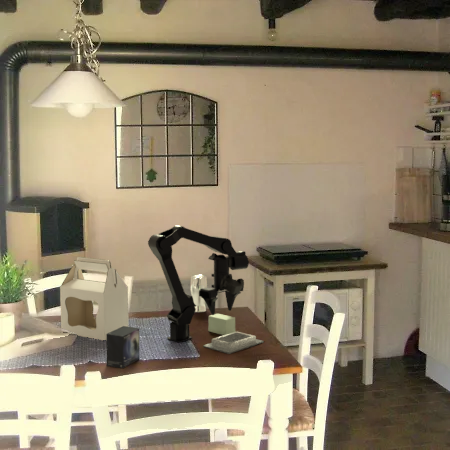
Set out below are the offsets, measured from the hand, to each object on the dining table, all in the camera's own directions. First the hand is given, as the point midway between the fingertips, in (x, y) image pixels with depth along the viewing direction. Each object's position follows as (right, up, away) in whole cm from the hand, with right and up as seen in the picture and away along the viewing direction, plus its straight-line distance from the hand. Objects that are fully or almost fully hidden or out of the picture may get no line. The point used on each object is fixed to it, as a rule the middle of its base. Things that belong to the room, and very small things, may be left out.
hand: (221, 312), depth 232 cm
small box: (-31, -11, -34) cm, 48 cm away
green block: (0, -8, +1) cm, 8 cm away
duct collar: (+4, -9, -15) cm, 18 cm away
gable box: (-47, -8, +1) cm, 48 cm away
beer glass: (-10, -4, +34) cm, 36 cm away
